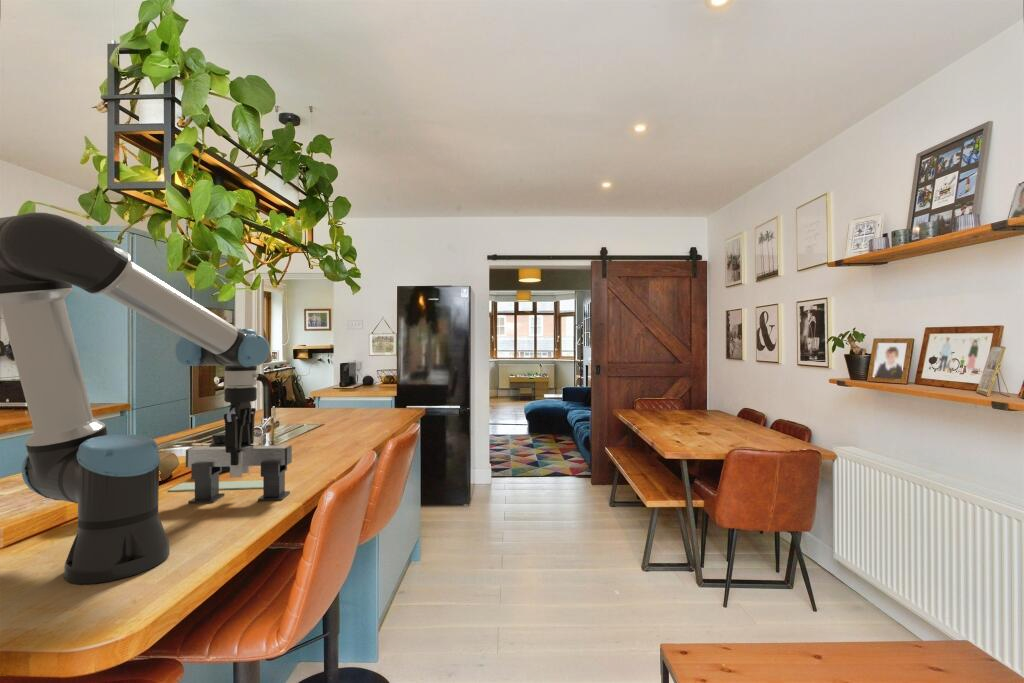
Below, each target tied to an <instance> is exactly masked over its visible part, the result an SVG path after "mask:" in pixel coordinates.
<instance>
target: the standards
mask: <svg viewBox="0 0 1024 683" xmlns="http://www.w3.org/2000/svg"><path fill="white" fill-rule="evenodd" d="M190 468H191V472H190V473H191V474H190V475H191V476H190V477H191V479H192V480H194V483H195V491H194V497H193V498H192V499H190V500H189V501H188V504H213V503H215V502H217V501H218V500H220V499H221V498H223V497H225V496H226V495H225V492H224V493H223V492H222V493H220V490H219V482H220V479H219V478H220V477H219V476H220V474H221V473H220V472H222V467H212V463H193V464H191V467H190ZM287 471H288V465H280V461H262V462H261V466H260V477H261V478H263V488H262V489H263V490H262V491H263V493H262V494H263V495H261V496H260V497H258V498H257V501H258V502H272V501H273V502H275V501H283V500H285V498H287V497H288V496H289V494H291V491H290V490H287V491H286V485H285V484H286V479H285V478H286V475H285V474H286V472H287Z"/></svg>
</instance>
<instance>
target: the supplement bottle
mask: <svg viewBox="0 0 1024 683" xmlns="http://www.w3.org/2000/svg"><path fill="white" fill-rule="evenodd" d="M211 440H212V442H211V443H210V444H209V445H208V447H225V432H217V433H214V434H212V439H211ZM228 472H229V473H230V466H224V467H222V472H220V473H219V474H222V473H224V474H225V473H228Z"/></svg>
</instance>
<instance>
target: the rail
mask: <svg viewBox="0 0 1024 683" xmlns="http://www.w3.org/2000/svg"><path fill="white" fill-rule="evenodd" d="M292 448H293V446H292V445H254V446H241V451H240V452H242V466H249V467H257V466H258V467H261V462H262V461H280V465H287V466H288V465H290V464H291V463H292V461H293V460H292V459H293V456H292V454H293V452H292V451H293V449H292ZM193 463H212V467H224V466H230V453H226V450H225V447H209V446H193V447H190V448H187V449H185V468H191V464H193Z"/></svg>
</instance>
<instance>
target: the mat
mask: <svg viewBox="0 0 1024 683" xmlns="http://www.w3.org/2000/svg"><path fill="white" fill-rule="evenodd" d="M253 489H254V490H258V489H263V480H261V479H260V480H235V481H234V480H232V481H219V491H223V490H224V491H225V490H230V491H231V490H253ZM192 491H193V492H195V482H181V483H179V484H177V485H175V486H172V487H171V488H169V489H167V492H168V493H169V492H192Z"/></svg>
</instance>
